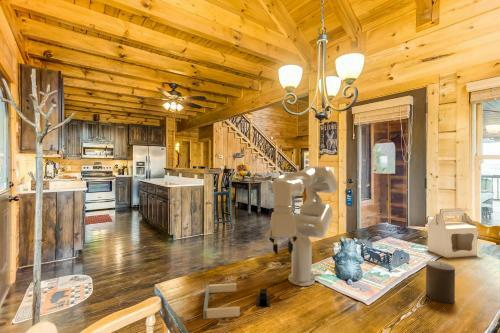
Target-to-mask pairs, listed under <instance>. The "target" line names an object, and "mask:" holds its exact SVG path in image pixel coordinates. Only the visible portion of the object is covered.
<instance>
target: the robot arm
mask: <svg viewBox="0 0 500 333" xmlns="http://www.w3.org/2000/svg"><path fill="white" fill-rule="evenodd" d="M271 190H272V191H273V211H272V212H271V217H270V224H269V225H270V227H269V229H268V231H267V232H266V233H265V234H264V235H265V237H266V238H267V239H268V240H269V241H270V242H271V243H272V250H273V252H274V253H275V255H278V254H279V253H278V252H279V250H278V248H279V246H278V244H277V242H278V239H280V238H288V242H287V252H288V253H289V254H291V273H290V274H289V275H288V281H289V283H291V284H293V285H296V286H299V287H300V286H301V287H308V286H312V285H314V284H315V282H316V279H315V278H316V277H317V278H318V277H322V276H323V275H322V272H320V271H317V270H312V269H313V268H312V263H313V261H312V251H313V250H312V248H313V246H312V245H313V244H312V241H311V240H310V238H309V237H312V238H317V239H323V238H324V237H325V236H326V234H327V233H328V229H329V227H330V224H331V222H332V218H333V208H332V206H331V205H330V204H328V203H324V202H323V200H322V198H321V196H320V195H319V193H321V194H323V193H324V194H334V193H336V192H337V191H338V181H337V179H336V176H335V174H334V173H333V171H332V170H331V169H330V167H328V166H322V165H320V166H319V165H318V166H317V165H314V166H307V167H305V168H304V169H302V170H300V171H293V172H290V173H285V174H282V175H279V176H277V177H276V178H274V179H273V181H272V184H271ZM304 191H305V195H306V198H305V200H304V202H303V203H302V206H301V207H300V209H299V214H294V212H293V211H294V210H296V206H293V197H299V196H301V195H302V194H303V193H304Z"/></svg>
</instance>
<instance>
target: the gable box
mask: <svg viewBox="0 0 500 333" xmlns="http://www.w3.org/2000/svg"><path fill="white" fill-rule="evenodd" d="M444 217H458V219H457V221H447V222H446V221H445V220H444ZM427 251H429V252H431V253H434V254H436V255H439V256H441V257H444V258H458V257H461V258H462V257H463V258H464V257H475V256H478V227H477V225H476V224H475V222H473V220H472V218H470V216H469V215H468V214H467V213H466V210H464V208H459V207H458V208H441V209H440V210H439V213H437V214H435V215H434V216H433V217H432V219H430V220H429V222H428V223H427Z"/></svg>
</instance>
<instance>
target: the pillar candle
mask: <svg viewBox="0 0 500 333" xmlns="http://www.w3.org/2000/svg"><path fill="white" fill-rule="evenodd" d="M425 270H426V271H425V277H426V278H425V295H426V296H427V297H428V298H430V299H431V300H433V301H435V302H438V303H443V304H454V303H455V298H456V296H455V293H456V291H455V290H456V289H455V288H456V285H455V284H456V281H455V280H456V272H455V271H456V268H455V266H453V265H451V264H450V263H446V262H442V261H436V260H428V261H426V269H425Z"/></svg>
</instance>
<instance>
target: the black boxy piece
mask: <svg viewBox="0 0 500 333" xmlns="http://www.w3.org/2000/svg"><path fill="white" fill-rule="evenodd" d="M267 292H268V288H259V293H257V294H256V302H255V307H256V308H271V294H268V293H267Z"/></svg>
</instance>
